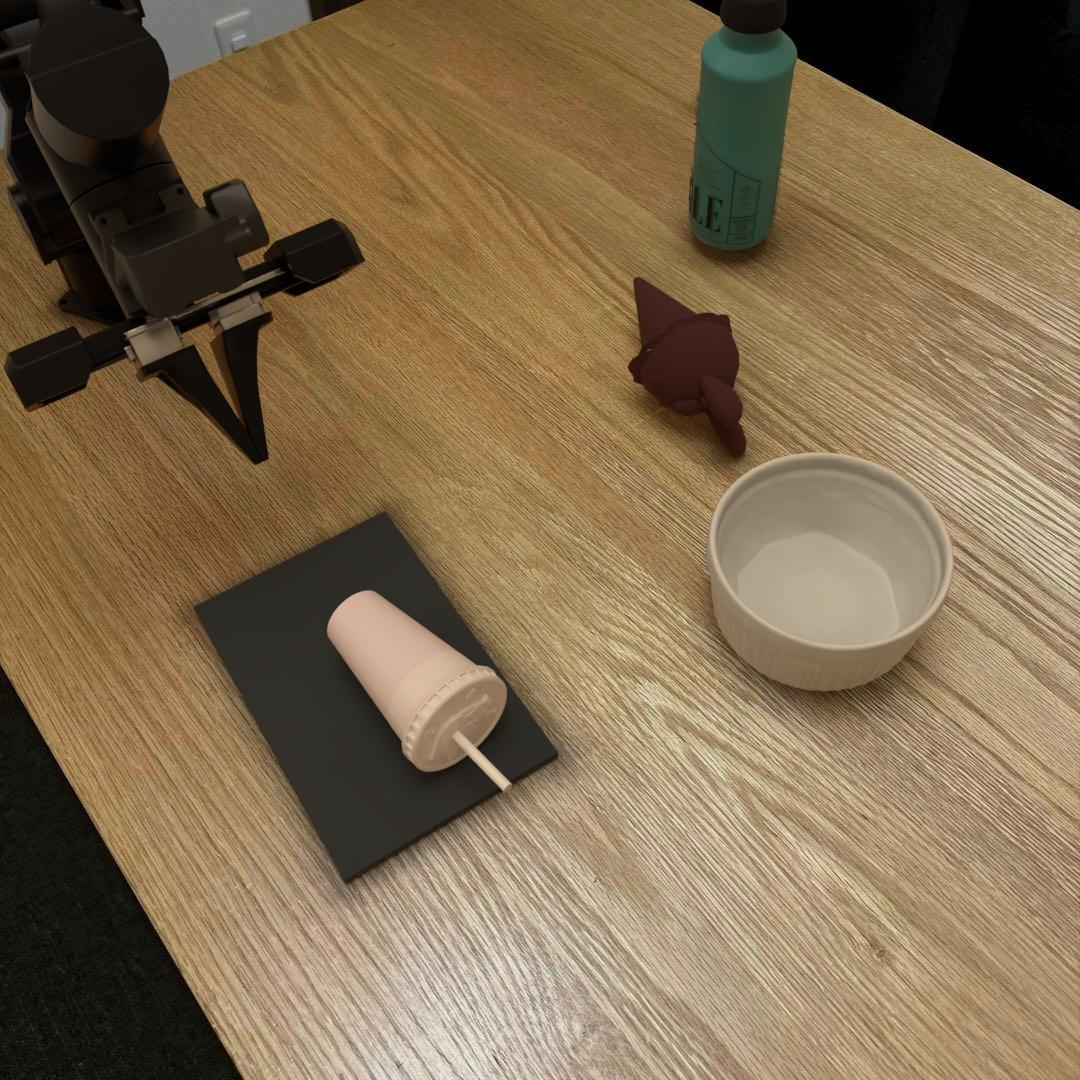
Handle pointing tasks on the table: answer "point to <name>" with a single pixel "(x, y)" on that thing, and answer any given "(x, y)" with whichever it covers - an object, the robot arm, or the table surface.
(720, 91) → the beverage bottle
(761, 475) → the ramekin
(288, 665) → the mat
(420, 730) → the smoothie
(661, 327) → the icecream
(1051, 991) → the table surface
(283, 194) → the table surface
